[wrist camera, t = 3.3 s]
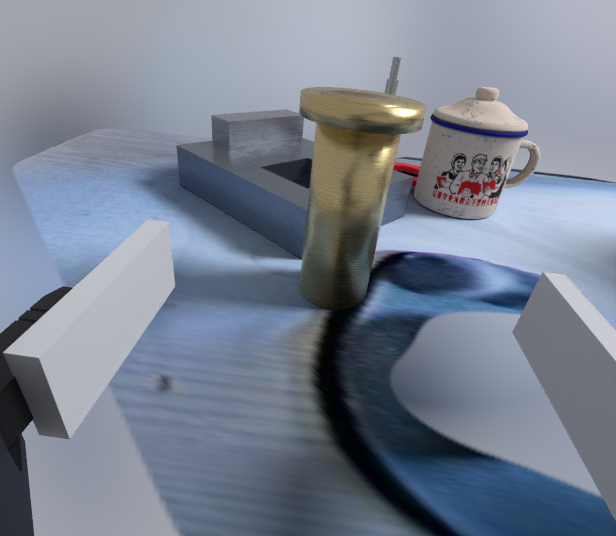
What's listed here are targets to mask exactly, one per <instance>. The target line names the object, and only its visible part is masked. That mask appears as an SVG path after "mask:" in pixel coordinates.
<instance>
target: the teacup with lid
mask: <svg viewBox="0 0 616 536" xmlns="http://www.w3.org/2000/svg"><path fill="white" fill-rule="evenodd" d="M498 95H499V91H498V89H495V88H488V87H479V88H478V89H477V92H476V98H466V99H463V100H461V101H459V102H457V103H455V104H452V105H449V106H443V107H439V108H437V109H436V110H435V111H434V112H433V114H432V115H431V120H432V124H431V128H430V132H429V136H428V140H427V143H426V147H425V151H424V155H423V159H422V163H421V167H420V171H419V175H418V179H417V182H416V186H415V190H414V197H415V199H416V200H417V201H418V202H419V203H420V204H421V205H423V206H424V207H426V208H428V209H430V210H432V211H434V212H437V213H440V214H443V215H447V216H451V217H456V218H463V219H481V218H486V217H489V216H490V215H492V214H493V213H494V211H495V209H496V207H497V204H498V201H499V199H500V196H501V194H502V191H503V188H512V187H516V186H518V185H520V184H522V183H523V182H525V181H526V180H527V179H528V178H529V177H530V176H531V175H532V174H533V173H534V172H535V170H536V168H537V167H538V164H539V162H540V157H541V153H540V150H539V148H538V147H537V146H536V145H535V144H534V143H532V142H530V141H527V140H522V139H523V137H524V136H526V135H527V134H528V131H527V129H528V125H527V123H526V122H525V121H524V120H522V119H520V118H518V117H517V116H515V115H514V114H513V113H512V112H511V111H510V110H509V108H508V107H507V106H506V105H505V104H503V103H501V102H498V101H495V100H496V99H497V98H498ZM519 148H527V149H528V150H529V152H530V158H529V161H528V163H527V165H526V167H525V168H524V169H523V170H522V171H521V172H520V173H519V174H518V175H517V176H515V177H514V178H511V179H508V180H507V178H508V175H509V173H510V170H511V168H512V165H513V162H514V160H515V157H516V155H517V152H518V149H519Z"/></svg>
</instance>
